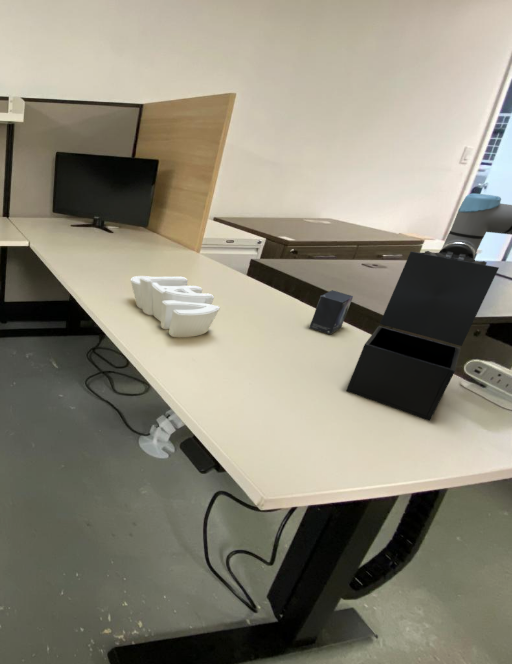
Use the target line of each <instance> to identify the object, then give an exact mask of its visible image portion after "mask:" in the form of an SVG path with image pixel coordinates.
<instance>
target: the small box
mask: <svg viewBox="0 0 512 664" xmlns="http://www.w3.org/2000/svg"><path fill="white" fill-rule="evenodd" d="M353 298H354V296H353V295H350V294H347V293H344V292H340V291H337V290H334V289H332V290H329V291H327V292H326V293H323V294H321V295H320V296H319V299H318V302H317V305H316V307H315V309H314V313H313V316H312V319H311V322H310V324H309V327H308V329H311V330H313V331H317V332H320V333H323V334H326V335H329V336H331V335H332V334H333V333H335V332H336V331H338V330H340V329H341V328H342V327H343V324H344V321H345V319H346V316H347V313H348V311H349V308H350V305H351V303H352V301H353Z"/></svg>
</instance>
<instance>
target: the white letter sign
mask: <svg viewBox="0 0 512 664" xmlns="http://www.w3.org/2000/svg"><path fill="white" fill-rule="evenodd" d="M188 281H189V280H188V279H187V278H186V277H184V276H181V275H179V276H148V275H135V276H132V277H131V278H130V283H131V287H132V291H133V295H134V300H135V304H136V307H137V308H138V309H140V310H142V312H143V313H144V314H146V315H148V316H154V318H155V319H157V320H158V321H159V322H160V328H162V329H163V330H168V335H170V336H171V337H172V338H192V337H197V336H201V335H204V334H205V333H207V332H208V331H209V330H210V327H212V324H213V322H214V320H215V318H216V316H217V315H218V312H219V310H220V309H221V307H220V305H214V304H213V301H214V299H215V296H214V295H213V294H212V293H210V292H206V293H203V288H202V287H200V286H198V285H188V283H189V282H188Z"/></svg>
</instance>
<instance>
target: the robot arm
mask: <svg viewBox="0 0 512 664" xmlns="http://www.w3.org/2000/svg"><path fill="white" fill-rule="evenodd" d="M501 202H502V198H501V196H498V195H493V194H483V193H468V194H467V195H466V196H465V197H464V199H463V200H462V202H461V204H460V206H459V208H458V210H457V213H456V215H455V217H454V221H453V223H452V226H451V228H450V230H449V232H448V234H447V236H446V238H445V240H444V243H443V244H442V248H441V249H440V250H439V252H436V253H435V252H432V251H430V250H425V251H424V253H423V254H428V255H433V256H439V257H444V258H450V259H455V260H461V261H466V262H472V263H477V264H482V265H488V262H487V261H484V260H483V261H482V260H481V261H479V260H475V256H476V254H477V252H478V250H479V247H480V246H481V243H482V241H483V240H484V237H485V235H486V233H493V234H501V235H511V236H512V204H508V203H501Z"/></svg>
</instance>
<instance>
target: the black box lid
mask: <svg viewBox="0 0 512 664" xmlns="http://www.w3.org/2000/svg"><path fill="white" fill-rule="evenodd" d="M499 269H500V267H498V266H493V265H488V264H486V265H482V264H477V263H472V262H466V261H461V260H455V259H450V258H444V257H439V256H433V255H428V254H424V253H421V252H416V251H410V252H409V255H408V256H407V259H406V261H405V263H404V266H403V269H402V271H401V273H400V275H399V277H398V279H397V283H396V285H395V287H394V290H393V292H392V293H391V296H390V298H389V302H388V303H387V306H386V308H385V310H384V313H383V315H382V318H381V319H380V322H379V325H382V326H385V327H388V328H389V327H390V328H393V329H396V330H399V331H400V330H401V331H405V332H407V333H408V332H409V333H412V334H416V335H419V336H422V337H425V338H429V339H430V338H431V339H434V340H439V341H440V342H445V343H449V344H452V345H456V346H459V347H461V346H463V345H464V343H465V341H466V338H467V336H468V334H469V331H470V329H471V327H472V326H473V323H474V322H475V320H476V317H477V316H478V315H477V314H478V313H479V311H480V309H481V306H482V304H483V303H484V301H485V298H486V296H487V294H488V292H489V289H490V287H491V285H492V284H493V281H494V280H495V277H496V275H497V273H498V271H499Z"/></svg>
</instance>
